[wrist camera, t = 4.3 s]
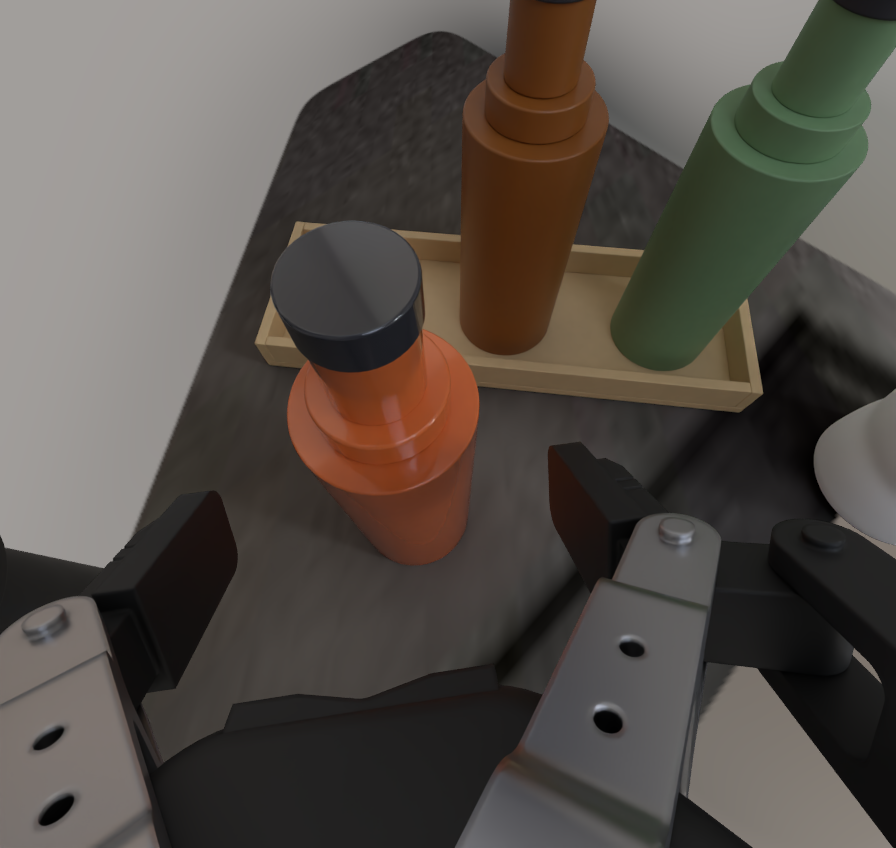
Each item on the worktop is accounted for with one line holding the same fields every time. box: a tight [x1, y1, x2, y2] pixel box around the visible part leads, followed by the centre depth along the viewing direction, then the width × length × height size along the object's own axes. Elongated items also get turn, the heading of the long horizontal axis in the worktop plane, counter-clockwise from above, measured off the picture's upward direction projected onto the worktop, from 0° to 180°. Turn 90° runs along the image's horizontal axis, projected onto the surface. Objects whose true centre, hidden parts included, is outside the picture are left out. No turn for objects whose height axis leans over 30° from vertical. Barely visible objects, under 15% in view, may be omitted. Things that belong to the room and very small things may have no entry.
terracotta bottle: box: [270, 221, 480, 565], centre depth 17 cm, size 5×5×18 cm
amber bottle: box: [459, 0, 609, 355], centre depth 21 cm, size 5×5×18 cm
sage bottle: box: [610, 0, 896, 371], centre depth 21 cm, size 5×5×18 cm
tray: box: [255, 222, 763, 412], centre depth 29 cm, size 27×9×2 cm, turn 83°
